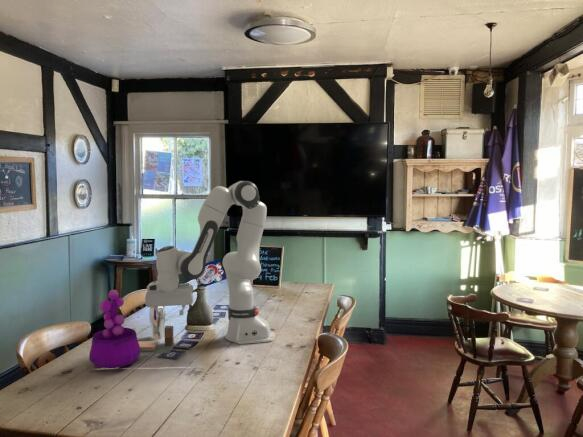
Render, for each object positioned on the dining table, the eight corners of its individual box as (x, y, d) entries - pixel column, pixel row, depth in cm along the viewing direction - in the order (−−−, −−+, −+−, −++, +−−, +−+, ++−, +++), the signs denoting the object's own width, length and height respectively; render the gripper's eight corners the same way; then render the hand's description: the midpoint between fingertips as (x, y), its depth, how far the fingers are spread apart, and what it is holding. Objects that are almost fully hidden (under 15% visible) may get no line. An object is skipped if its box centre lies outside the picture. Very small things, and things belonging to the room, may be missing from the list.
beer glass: (161, 341, 215) (160, 308, 214) (147, 340, 216) (146, 308, 215) (168, 336, 222) (167, 304, 220) (154, 335, 223) (153, 303, 222)
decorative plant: (91, 378, 177) (89, 298, 174) (87, 360, 193) (84, 287, 190) (144, 368, 185) (142, 292, 182) (136, 352, 202) (134, 282, 199)
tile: (158, 341, 209) (137, 341, 208) (154, 346, 202) (132, 347, 201) (158, 345, 209) (137, 345, 208) (154, 351, 202) (132, 351, 201)
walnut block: (172, 346, 208) (171, 328, 207) (164, 346, 208) (164, 328, 207) (173, 343, 211) (173, 325, 210) (166, 343, 211) (165, 325, 210)
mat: (174, 344, 212) (174, 343, 211) (169, 354, 200) (169, 353, 200) (132, 345, 210) (132, 343, 210) (125, 355, 199) (125, 353, 199)
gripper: (193, 281, 211) (195, 311, 212) (146, 283, 209) (148, 314, 211) (191, 284, 204) (193, 316, 206) (142, 287, 203) (145, 318, 205)
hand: (170, 315), depth 208 cm, fingers open, 8 cm apart
